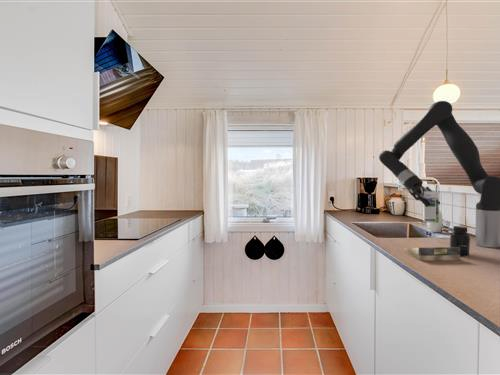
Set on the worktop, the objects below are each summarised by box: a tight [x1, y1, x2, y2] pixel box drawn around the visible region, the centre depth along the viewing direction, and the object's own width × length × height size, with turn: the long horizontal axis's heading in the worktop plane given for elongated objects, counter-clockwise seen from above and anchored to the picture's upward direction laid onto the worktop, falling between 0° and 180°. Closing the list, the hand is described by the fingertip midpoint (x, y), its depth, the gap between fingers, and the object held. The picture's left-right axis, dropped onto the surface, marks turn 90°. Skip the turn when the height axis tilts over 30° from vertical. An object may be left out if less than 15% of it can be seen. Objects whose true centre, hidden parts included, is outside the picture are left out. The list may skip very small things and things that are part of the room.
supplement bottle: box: [449, 225, 471, 257], centre depth 122 cm, size 7×7×12 cm
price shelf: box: [403, 246, 461, 262], centre depth 120 cm, size 16×12×5 cm
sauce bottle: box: [426, 208, 444, 233], centre depth 167 cm, size 8×8×18 cm
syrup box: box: [422, 190, 439, 223], centre depth 134 cm, size 6×6×14 cm
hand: (433, 205), depth 132 cm, fingers closed on syrup box, 7 cm apart
